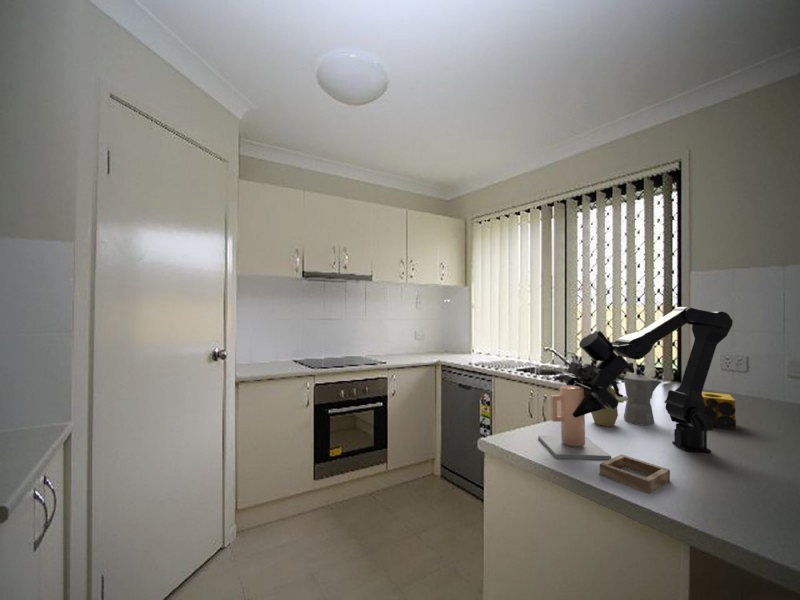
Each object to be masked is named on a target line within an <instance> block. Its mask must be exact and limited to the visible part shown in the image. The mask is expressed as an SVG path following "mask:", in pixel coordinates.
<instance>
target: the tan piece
mask: <svg viewBox="0 0 800 600" xmlns="http://www.w3.org/2000/svg"><path fill="white" fill-rule="evenodd" d="M559 390H560V391H559V394H551V395H550V421H552V422H554V423H555V422H560V431H561V433H560V436H561V441H562V442H563V443H564V444H567V445H571V446H584V445H585V437H586V423H585V422H586V421H585V418H586V417H585V416H586V414H585V415H582V416H579V417H576V418H575V417H574V416H573V415H572V414H573V413H574V411H575V410H576V408H577V407H578V406H579V405H580V403H581V402H582V401H583V399H584V388H582V387H578V386H567V385H561V386H560V387H559ZM558 401H560V415H558Z"/></svg>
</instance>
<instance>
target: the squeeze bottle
mask: <svg viewBox="0 0 800 600" xmlns="http://www.w3.org/2000/svg"><path fill="white" fill-rule="evenodd" d="M607 390H608V391H609V392H610V393H611V394H612V395H613V396H614V397H615V398H616V399H617V396H616V393H615V390H614V388H613V386H609V388H608V389H607ZM604 407H605V408H606V409H601V410H598V411H594V412H591V416H592V420H593V422H594V424H596V425H599V426H601V425H602V426H603V427H614V426H615V424H616V422H617V419H618V417H619V412H618V406H617V407H616V408H615V409H614V410H611V409H609V408H607V407H606V405H605V406H604Z"/></svg>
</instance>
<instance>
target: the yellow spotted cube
mask: <svg viewBox="0 0 800 600" xmlns="http://www.w3.org/2000/svg"><path fill="white" fill-rule="evenodd" d="M702 396H703V399H704V403H705V409H704V414H705V415H706V416H707V417H708V418H709V419H710V420H711V421H712V422H713V423H714V426H713V429H714V428H715V429H722V430H726V431H727V430H728V431H737V420H736V419H737V418H736V399H734V397H732V395H731V394H728V393H718V392H709V391H708V392H707V391H702Z"/></svg>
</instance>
